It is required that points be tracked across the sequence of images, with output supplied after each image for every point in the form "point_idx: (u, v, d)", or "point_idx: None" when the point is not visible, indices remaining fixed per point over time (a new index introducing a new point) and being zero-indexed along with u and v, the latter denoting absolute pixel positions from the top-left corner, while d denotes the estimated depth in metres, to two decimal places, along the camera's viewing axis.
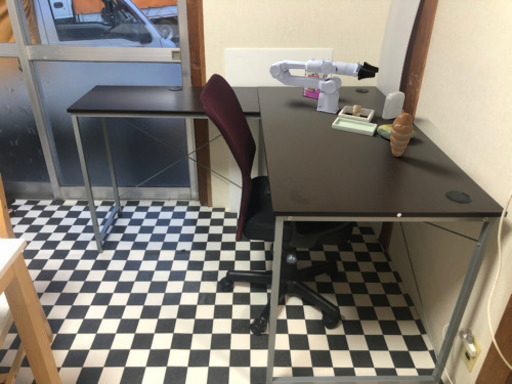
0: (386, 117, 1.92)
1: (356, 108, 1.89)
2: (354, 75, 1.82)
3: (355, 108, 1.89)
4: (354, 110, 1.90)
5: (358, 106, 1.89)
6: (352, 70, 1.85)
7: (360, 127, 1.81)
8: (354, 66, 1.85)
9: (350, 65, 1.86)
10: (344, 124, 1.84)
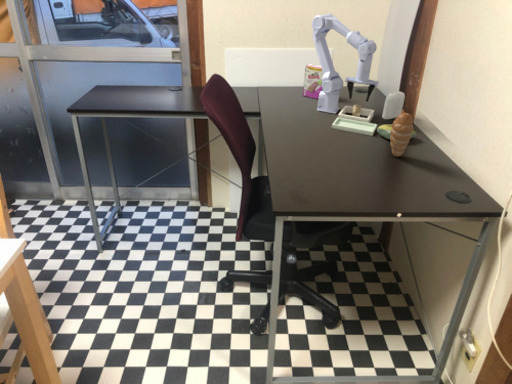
0: (386, 117, 1.92)
1: (356, 108, 1.89)
2: (346, 78, 1.87)
3: (355, 108, 1.89)
4: (354, 110, 1.90)
5: (358, 106, 1.89)
6: (356, 76, 1.83)
7: (360, 127, 1.81)
8: (357, 78, 1.82)
9: (358, 74, 1.81)
10: (344, 124, 1.84)
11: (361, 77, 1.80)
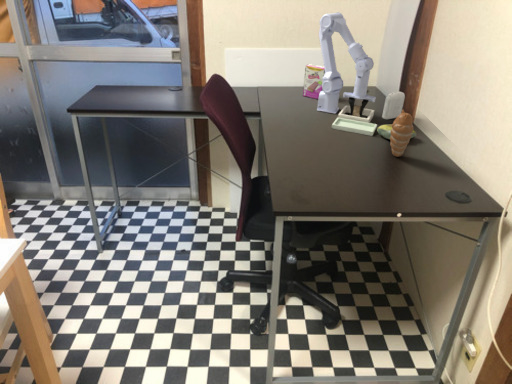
0: (386, 117, 1.92)
1: (356, 108, 1.89)
2: None
3: (355, 108, 1.89)
4: (354, 110, 1.90)
5: (358, 106, 1.89)
6: None
7: (360, 127, 1.81)
8: (354, 93, 1.86)
9: (355, 89, 1.84)
10: (344, 124, 1.84)
11: (358, 93, 1.84)
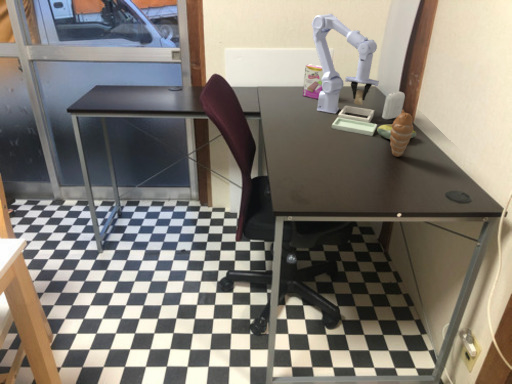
0: (386, 117, 1.92)
1: (359, 92, 1.85)
2: (346, 78, 1.86)
3: (358, 92, 1.85)
4: (357, 95, 1.86)
5: (361, 90, 1.85)
6: (356, 75, 1.83)
7: (360, 127, 1.81)
8: (357, 77, 1.82)
9: (358, 73, 1.80)
10: (344, 124, 1.84)
11: (361, 76, 1.80)
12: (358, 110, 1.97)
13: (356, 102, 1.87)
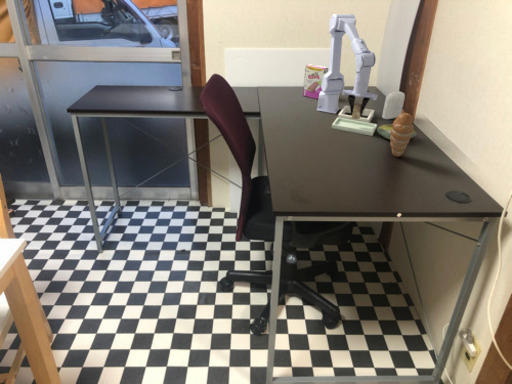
0: (386, 117, 1.92)
1: (356, 107, 1.75)
2: (343, 91, 1.77)
3: (355, 107, 1.76)
4: (354, 109, 1.76)
5: (358, 104, 1.76)
6: None
7: (360, 127, 1.81)
8: (354, 91, 1.72)
9: (356, 87, 1.71)
10: (344, 124, 1.84)
11: (359, 90, 1.71)
12: None
13: (353, 116, 1.78)
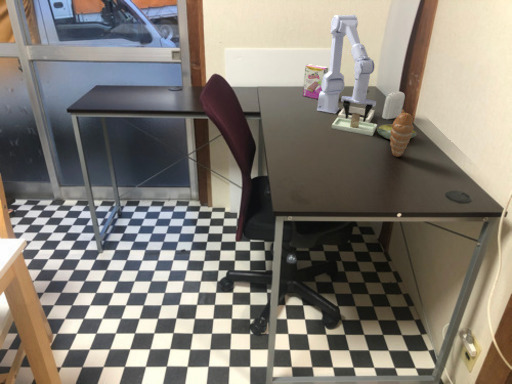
0: (386, 117, 1.92)
1: (355, 116, 1.77)
2: (342, 97, 1.78)
3: (353, 116, 1.78)
4: (352, 118, 1.79)
5: (357, 114, 1.78)
6: None
7: (360, 127, 1.81)
8: (353, 97, 1.74)
9: (354, 93, 1.72)
10: (344, 124, 1.84)
11: (358, 97, 1.72)
12: (358, 110, 1.97)
13: (352, 126, 1.80)
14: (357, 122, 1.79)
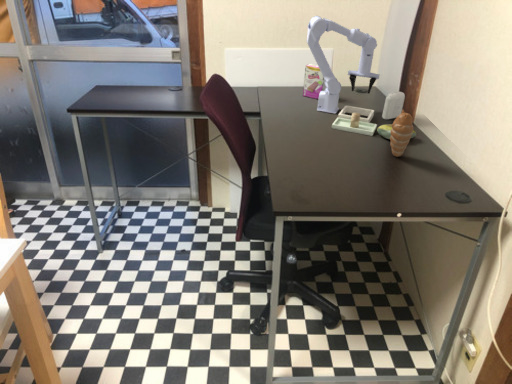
0: (386, 117, 1.92)
1: (355, 116, 1.77)
2: None
3: (353, 116, 1.78)
4: (352, 118, 1.79)
5: (357, 114, 1.78)
6: (358, 69, 1.93)
7: (360, 127, 1.81)
8: (359, 71, 1.91)
9: (360, 67, 1.90)
10: (344, 124, 1.84)
11: (363, 70, 1.90)
12: (358, 110, 1.97)
13: (352, 126, 1.80)
14: (357, 122, 1.79)
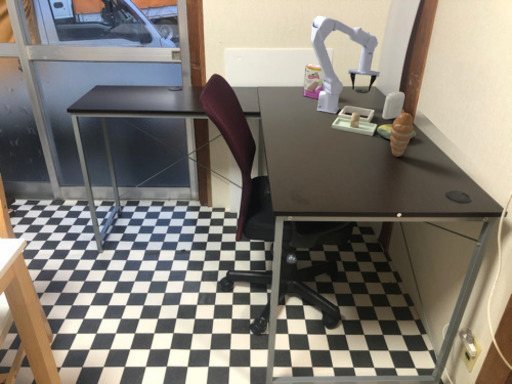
0: (386, 117, 1.92)
1: (355, 116, 1.77)
2: None
3: (353, 116, 1.78)
4: (352, 118, 1.79)
5: (357, 114, 1.78)
6: None
7: (360, 127, 1.81)
8: (360, 69, 1.94)
9: (361, 65, 1.93)
10: (344, 124, 1.84)
11: (364, 68, 1.93)
12: (358, 110, 1.97)
13: (352, 126, 1.80)
14: (357, 122, 1.79)
